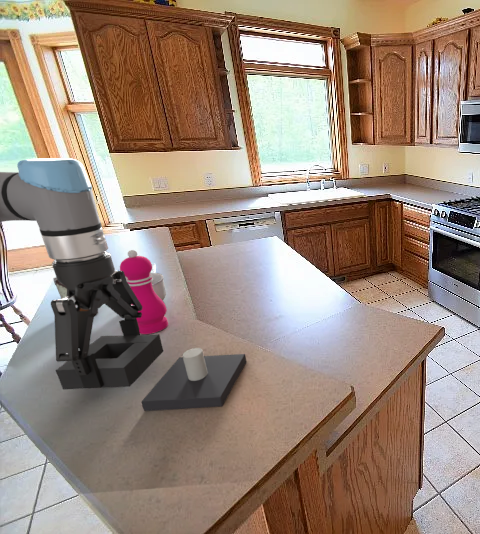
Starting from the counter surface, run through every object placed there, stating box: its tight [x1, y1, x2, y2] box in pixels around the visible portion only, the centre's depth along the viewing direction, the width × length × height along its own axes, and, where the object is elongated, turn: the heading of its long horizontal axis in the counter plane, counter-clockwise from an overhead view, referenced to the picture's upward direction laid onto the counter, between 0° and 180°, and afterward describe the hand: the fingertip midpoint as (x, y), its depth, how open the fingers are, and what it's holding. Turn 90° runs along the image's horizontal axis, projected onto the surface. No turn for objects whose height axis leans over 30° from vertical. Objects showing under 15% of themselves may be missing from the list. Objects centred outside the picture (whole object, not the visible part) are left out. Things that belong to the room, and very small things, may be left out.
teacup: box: [126, 272, 167, 305], centre depth 96 cm, size 14×11×8 cm
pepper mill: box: [119, 249, 169, 335], centre depth 84 cm, size 7×7×20 cm
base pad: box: [141, 347, 247, 412], centre depth 66 cm, size 13×13×7 cm
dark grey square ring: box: [55, 333, 164, 390], centre depth 66 cm, size 11×11×4 cm
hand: (116, 366), depth 67 cm, fingers closed on dark grey square ring, 11 cm apart
